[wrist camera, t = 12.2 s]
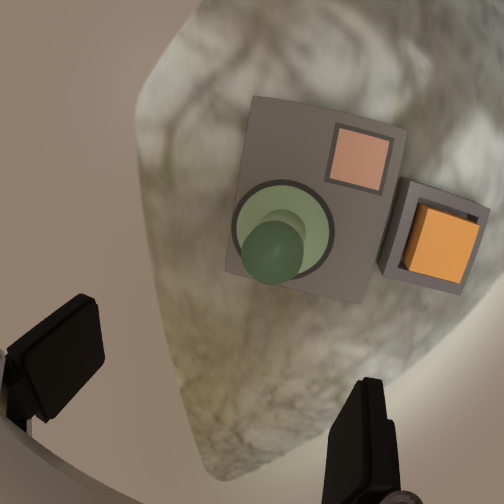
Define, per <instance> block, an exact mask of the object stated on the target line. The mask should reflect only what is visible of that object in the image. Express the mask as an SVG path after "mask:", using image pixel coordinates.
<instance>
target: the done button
mask: <svg viewBox="0 0 504 504" xmlns="http://www.w3.org/2000/svg"><path fill="white" fill-rule="evenodd" d="M479 227H480V226H479V225H478V224H476V223H474V222H473V221H471V220H469V219H467V218H465V217H462V216H459V215H456V214H453V213H450V212H447V211H444V210H441V209H438V208H435V207H432V206H429V205H426V204H423V203H419V205H418V208H417V212H416V216H415V219H414V223H413V226H412V229H411V233H410V236H409V239H408V243H407V246H406V249H405V252H404V255H403V258H402V260H403V262H404V263H405V265H406V267H407V268H408V270H409V271H413V272H417V273H421V274H425V275H429V276H433V277H437V278H440V279H444V280H448V281H452V282H455V283H460V281H461V278H462V276H463V273H464V271H465V268H466V265H467V263H468V260H469V257H470V254H471V251H472V249H473V246H474V243H475V240H476V236H477V233H478V230H479Z"/></svg>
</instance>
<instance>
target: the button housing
mask: <svg viewBox="0 0 504 504" xmlns="http://www.w3.org/2000/svg"><path fill="white" fill-rule="evenodd" d="M419 203H423V204H426V205H429V206H432V207H435V208H438V209H441V210H444V211H447V212H450V213H453V214H456V215H459V216H462V217H465V218H467V219H469V220H471V221H473V222H474V223H476V224H478V225H479V226H480V227H479V230H478V233H477V236H476V240H475V243H474V246H473V249H472V251H471V254H470V257H469V260H468V263H467V265H466V268H465V271H464V273H463V276H462V278H461V281H460V283H455V282H452V281H448V280H444V279H440V278H437V277H433V276H429V275H425V274H421V273H417V272H413V271H409V270H408V268H407V267H406V265H405V263H404V262H403V260H402V258H403V255H404V252H405V249H406V246H407V243H408V239H409V236H410V233H411V229H412V226H413V223H414V219H415V216H416V212H417V208H418V205H419ZM489 213H490V209H489V208H487V207H484V206H482V205H480V204H478V203H476V202H473V201H470V200H468V199H465V198H462V197H460V196H457V195H454V194H451V193H449V192H446V191H443V190H440V189H437V188H434V187H431V186H428V185H425V184H422V183H419V182H416V181H413V180H410V179H406V178H403V177H401V180H400V184H399V188H398V192H397V196H396V200H395V204H394V208H393V212H392V215H391V219H390V222H389V226H388V230H387V233H386V236H385V240H384V243H383V246H382V250H381V253H380V256H379V259H378V262H377V264H378V266H379V268H380V271H381V273H382V276H383V277H388V278H392V279H396V280H400V281H404V282H408V283H412V284H416V285H420V286H424V287H428V288H432V289H436V290H440V291H444V292H448V293H452V294H456V295H461V293H462V290H463V288H464V286H465V283H466V281H467V278H468V276H469V273H470V270H471V268H472V265H473V262H474V260H475V257H476V254H477V251H478V248H479V245H480V242H481V239H482V236H483V233H484V230H485V227H486V223H487V220H488V216H489Z"/></svg>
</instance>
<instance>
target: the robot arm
mask: <svg viewBox="0 0 504 504" xmlns="http://www.w3.org/2000/svg"><path fill="white" fill-rule="evenodd" d="M7 352H8V354H7V355H6V356H5V354H4V352H3V351H2V350H1V349H0V504H143V503H141V502H139V501H137V500H134V499H132V498H130V497H128V496H126V495H124V494H122V493H120V492H118V491H116V490H114V489H112V488H110V487H108V486H107V485H104V484H103V483H101V482H99V481H97V480H96V479H94V478H92V477H90V476H89V475H87V474H85V473H84V472H82V471H80V470H79V469H76V468H75V467H74V466H72V465H70V464H69V463H67V462H66V461H64V460H63V459H61V458H60V457H58V456H57V455H55V454H54V453H52V452H51V451H50V450H48V449H47V448H45V447H44V446H43V445H41V444H39V443H38V442H37V441H36V440H34V439H33V438H32V417H33V416H34V415H36V417H37V418H39V419H40V420H42V421H43V422H44V423H47V422H48V421H49V420H50V419H53V418H55V417H56V416H57V415H58V414H59V412H60V411H61V410H62V409H63V408H64V407H65V406H66V405H67V403H68V402H69V401H70V400H71V399H72V398H73V397H74V396H75V395H76V394H77V392H78V391H79V390H80V389H81V388H82V387H83V386H84V385H85V384H86V382H87V381H88V380H89V379H90V378H91V377H92V376H93V375H94V374H95V373H96V371H98V369H99V368H100V367H101V366H102V365H103V363H104V360H105V354H104V348H103V341H102V334H101V327H100V319H99V310H98V305H97V304H96V302H95V299H94V298H92V297H89V296H87V295H85V294H78V295H77V296H75V297H74V298H73V299H71V300H70V301H68V302H67V303H66V304H64V305H63V306H61V307H60V308H59V309H57V310H56V311H55V312H53V313H52V314H51V315H49V316H48V317H47V318H45V319H44V320H43V321H41V322H40V323H39V324H37V325H36V326H35V327H34V328H32V329H31V330H30V331H29V332H27V333H26V334H24V335H23V336H22V337H21V338H19V339H18V340H17V341H15V342H14V343H13V344H12V345H11V346H9V347H8V348H7ZM321 504H423V503H422V501H421V499H420V498H419V497H418V496H417V495H415V494H413V493H412V492H409V491H401V487H400V472H399V460H398V449H397V441H396V432H395V425H394V422H393V421H392V420H389V419H387V412H386V404H385V396H384V389H383V383H382V380H381V379H375V378H369V377H365V378H363V380H362V381H361V380H358V381H357V382H356V384H355V386H354V388H353V390H352V391H351V393H350V395H349V397H348V399H347V401H346V402H345V404H344V406H343V408H342V410H341V411H340V413H339V415H338V417H337V418H336V420H335V422H334V423H333V425H332V427H331V429H330V432H329V436H328V447H327V458H326V470H325V478H324V487H323V495H322V503H321Z"/></svg>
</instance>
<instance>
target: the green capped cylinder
mask: <svg viewBox="0 0 504 504" xmlns="http://www.w3.org/2000/svg"><path fill="white" fill-rule="evenodd" d="M305 237H306V229H305V225H304V223H303V221H302V219H301V218H300V217H299V216H298V215H297V214H296V213H294V212H292V211H290V210H285V209H278V210H274V211H272V212H270V213H268V214H267V215H266V216H265V217H264V218H263V219H262V221H261V222H260V223H259V225H257V226H256V227H255V228H254V229H253V230H252V231H251V232H250V234H249V235H248V236H247V237H246V239H245V240H244V242H243V245H242V249H241V259H242V263H243V265H244V267H245V269H246V271H247V272H248V273H249V274H250V275H251V276H252V277H253V278H254V279H256V280H257V281H259V282H262V283H265V284H269V285H278V284H282V283H285V282H288V281H289V280H291V279H292V278H293V277H295V275H296V274H297V273H298V272H299V270H300V268H301V265H302V261H303V255H304V242H305Z"/></svg>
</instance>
